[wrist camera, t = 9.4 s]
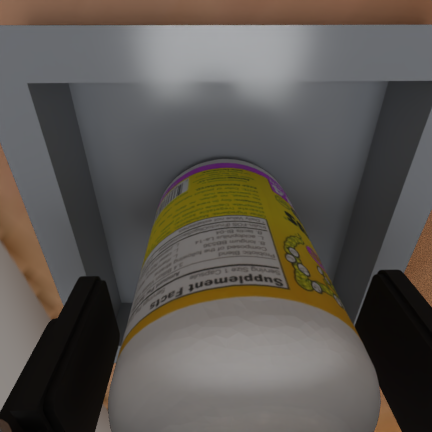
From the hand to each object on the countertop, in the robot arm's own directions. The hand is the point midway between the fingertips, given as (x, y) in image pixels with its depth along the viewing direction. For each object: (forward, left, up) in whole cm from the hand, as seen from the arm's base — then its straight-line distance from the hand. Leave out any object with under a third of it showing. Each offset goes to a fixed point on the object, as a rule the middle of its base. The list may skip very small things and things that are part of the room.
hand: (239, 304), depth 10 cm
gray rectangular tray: (0, 0, -7) cm, 7 cm away
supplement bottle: (0, 0, -6) cm, 6 cm away
